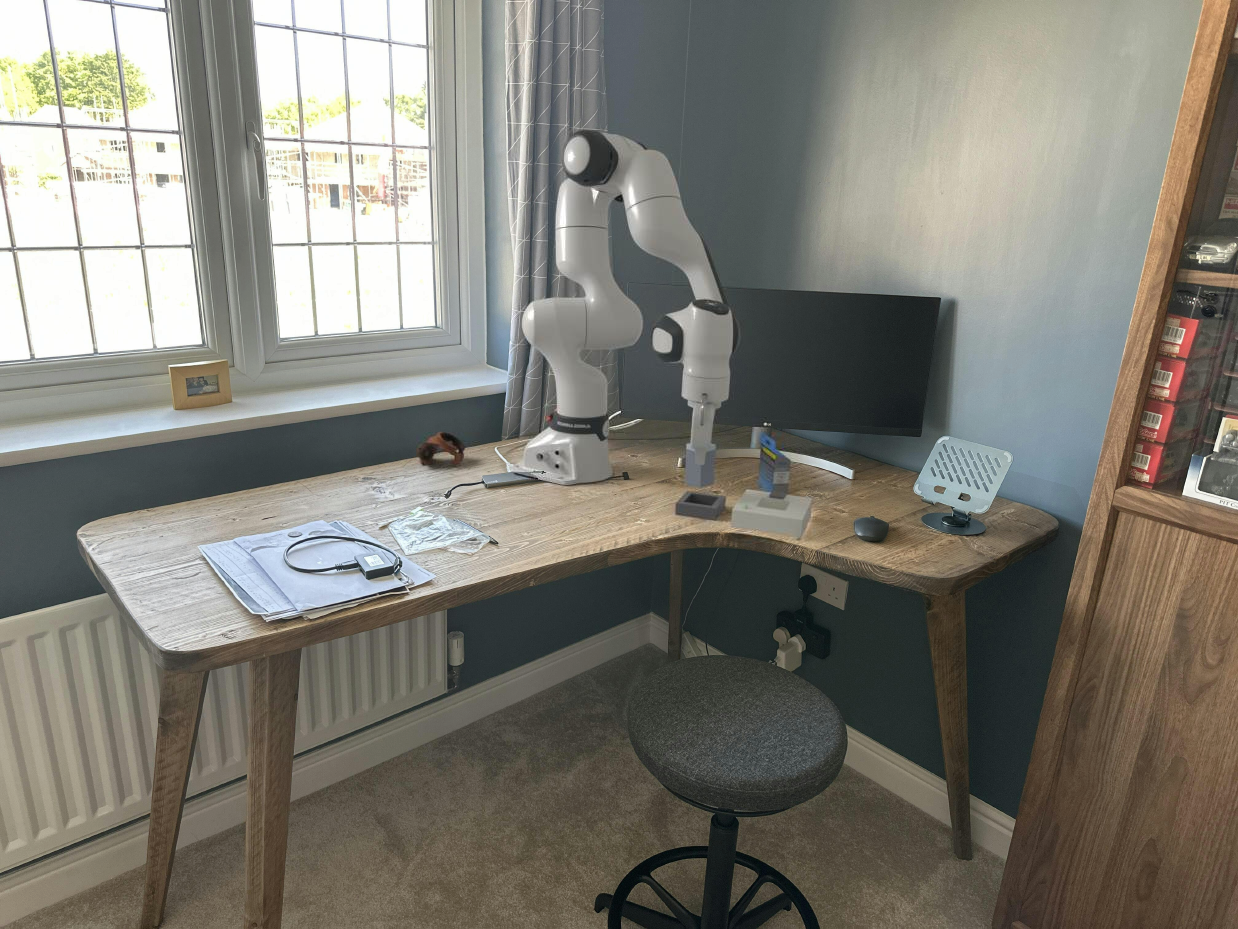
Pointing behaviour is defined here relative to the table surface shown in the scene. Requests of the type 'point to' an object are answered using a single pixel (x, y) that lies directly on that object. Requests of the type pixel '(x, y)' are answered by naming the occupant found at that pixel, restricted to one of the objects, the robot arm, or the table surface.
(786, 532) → the panel
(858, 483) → the table surface
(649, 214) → the robot arm
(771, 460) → the label tape cartridge
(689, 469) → the plug
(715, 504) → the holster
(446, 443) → the orange curved piece
